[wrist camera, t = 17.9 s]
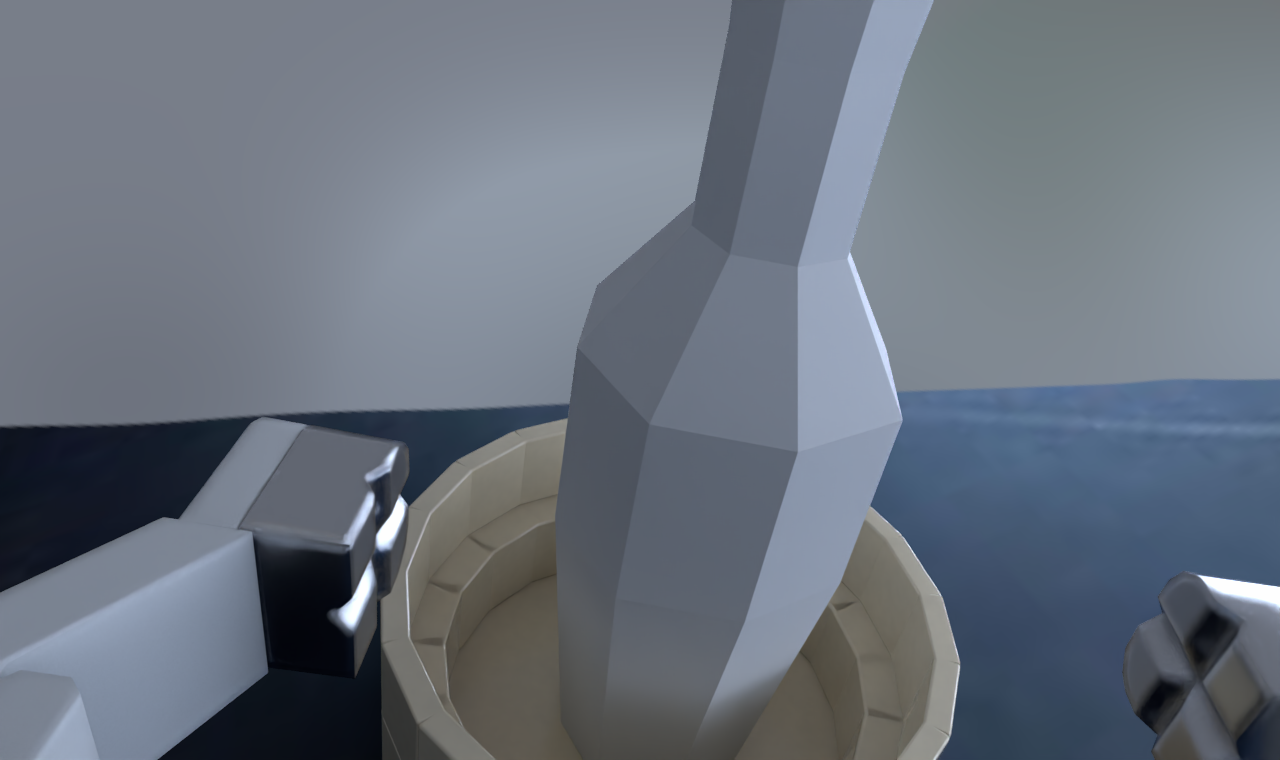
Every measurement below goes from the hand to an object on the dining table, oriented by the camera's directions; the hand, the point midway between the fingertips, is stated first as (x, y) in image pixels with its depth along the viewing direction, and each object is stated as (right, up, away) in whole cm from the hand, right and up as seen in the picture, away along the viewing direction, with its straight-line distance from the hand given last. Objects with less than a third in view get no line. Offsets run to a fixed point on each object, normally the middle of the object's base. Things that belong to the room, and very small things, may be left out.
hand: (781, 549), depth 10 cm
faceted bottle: (-1, -7, +14) cm, 16 cm away
